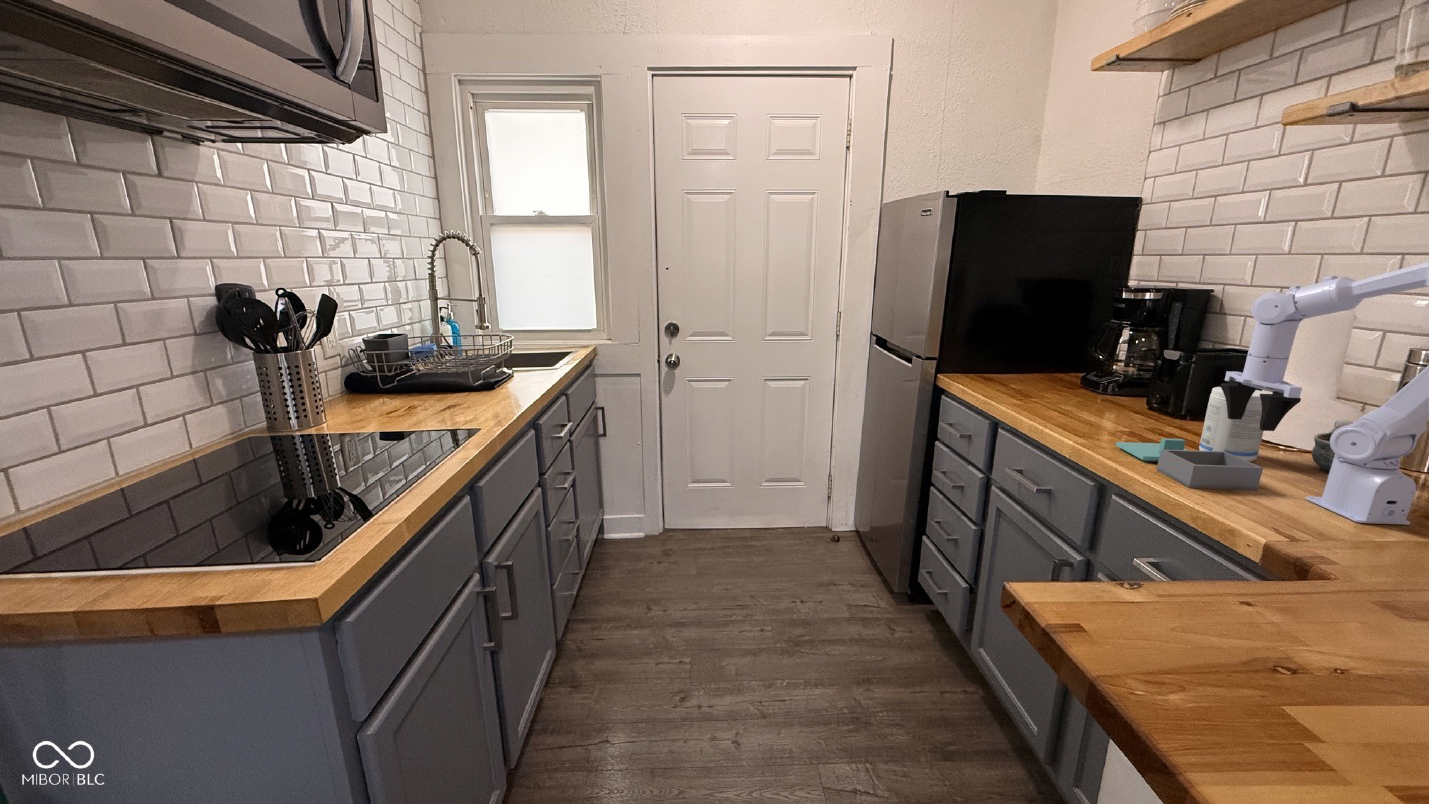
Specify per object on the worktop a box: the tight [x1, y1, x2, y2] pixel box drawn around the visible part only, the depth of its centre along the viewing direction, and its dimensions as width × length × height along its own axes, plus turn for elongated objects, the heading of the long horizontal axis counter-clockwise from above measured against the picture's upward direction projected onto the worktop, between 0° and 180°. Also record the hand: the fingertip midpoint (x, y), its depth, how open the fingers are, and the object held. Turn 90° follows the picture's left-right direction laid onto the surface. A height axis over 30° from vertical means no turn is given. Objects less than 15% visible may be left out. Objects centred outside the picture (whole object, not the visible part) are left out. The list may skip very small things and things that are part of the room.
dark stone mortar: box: [1311, 419, 1354, 473], centre depth 113 cm, size 10×12×10 cm
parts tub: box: [1156, 449, 1264, 491], centre depth 108 cm, size 9×12×4 cm
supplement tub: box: [1198, 386, 1270, 463], centre depth 120 cm, size 10×10×15 cm
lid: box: [1115, 437, 1188, 463], centre depth 121 cm, size 9×12×5 cm
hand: (1250, 424), depth 109 cm, fingers open, 7 cm apart
